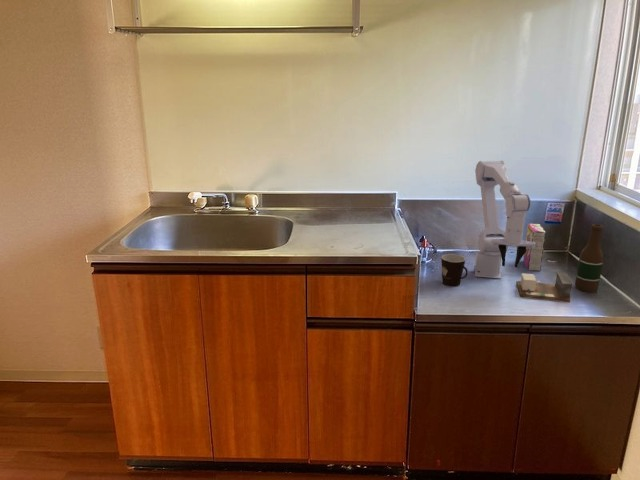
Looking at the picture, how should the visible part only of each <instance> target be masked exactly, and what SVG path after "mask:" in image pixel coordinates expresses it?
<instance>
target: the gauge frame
mask: <svg viewBox="0 0 640 480" xmlns="http://www.w3.org/2000/svg"><path fill="white" fill-rule="evenodd" d="M515 284H516V288H517V290H518V296H519V298H523V299H525V298H526V299H535V300H536V299H537V300H546V301H554V302H564V303H570V302H571V296H572V295H571V293H572V289H573V283H572V282H571V280H570V277H569V276H568V274H567V273H566V272H563V273H562V272H557V273H556V277H555V283H545V282H543V283H542V282H541V285H536V286H535V291H530V292H531V294H530V293H529V292H528V291H527V290H522V287H521V280H516V282H515Z"/></svg>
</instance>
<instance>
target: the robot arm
mask: <svg viewBox="0 0 640 480" xmlns="http://www.w3.org/2000/svg"><path fill="white" fill-rule="evenodd" d="M474 171H475V180H476V185H478V186H479V187H480V194H481V196H480V197H481V203H482V211H483V220H484V221H483V222H484V229H482V231H480V232H479V234H478V241H477V246H478V250H479V251H476V254H475V261H474V268H473V270H474V277H478V278H489V279H496V280H497V279H502V274H501V266H502V267H505V265H506V255H507V251H508V248H509V247H513V248H516V255H515V261H514V267H515V268H518V267H519V263H520V262H521V260H522V258H523V257H524V254H525V253H526V248H532V249H535V242H530V241H526V240H523V235H524V234H523V233H524V228H525V219H526V213H527V212H528V211H529V210H530V208H531V198H530V196H529V195H528V194H527V193H526V194H525V193H522V191H521V190H520V188H519V187H518V186H517V185H516V182H514V181H513V180H512V181H511V180H510V179H509V176H508V174H507V173H506V172H507V164H506V162H504V160H498V161H495V160H494V161H492V160H491V161H488V160H487V161H482V160H480V161H478V162H477V163H476V167H475V170H474ZM498 185H499V187H500V188H499V193H500V194H501V196H502V197H503V199H504V200H505V203H504V204H505V216H506V222H505V229H502V228H501V227H500V226H499V225H500V224H499V218H498V209H497V201H496V200H497V199H496V192H495V187H496V186H498Z"/></svg>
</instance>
